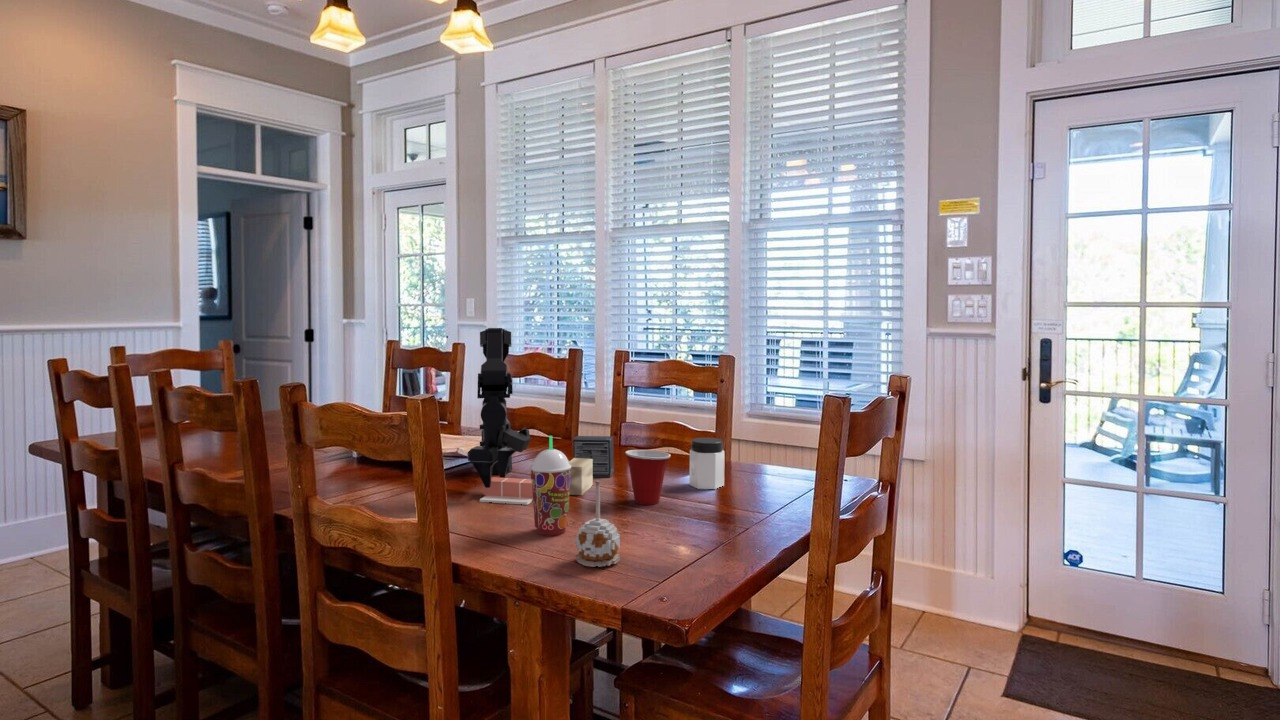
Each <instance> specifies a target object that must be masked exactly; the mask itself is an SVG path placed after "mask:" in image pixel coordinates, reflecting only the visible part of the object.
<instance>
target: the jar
mask: <svg viewBox="0 0 1280 720" xmlns="http://www.w3.org/2000/svg"><path fill="white" fill-rule="evenodd" d="M690 447H691V448H690V449H689V480H688V481H689V482H688V483H689V486H691V487H693V488H695V489H696V488H697V489H696V490H708V489H715V490H718V489H720V488H719V487H721V488H723V487H725V452H726V451H725V450H724V441H723V440H722V439H721V438H716V437H696V438H693V439H691V443H690ZM722 486H723V487H722ZM717 488H718V489H717Z"/></svg>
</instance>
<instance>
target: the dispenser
mask: <svg viewBox="0 0 1280 720" xmlns="http://www.w3.org/2000/svg"><path fill="white" fill-rule="evenodd" d="M568 461H569V463H570V465H571V477H570V495H569V496H583V495H584V494H585V493H586V492H587V491H588V490H590V489H591V486H592V485H593V483H594V482H593V481H594V480H593V479H594V477H593V459H585V458H572V459H571V460H568ZM593 486H594V485H593ZM593 486H592V487H593Z"/></svg>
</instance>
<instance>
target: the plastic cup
mask: <svg viewBox="0 0 1280 720" xmlns="http://www.w3.org/2000/svg"><path fill="white" fill-rule="evenodd" d="M625 456H626V457H627V463H628V466H629V473H630V482H631V487H632V492H633V498H634V501H635V503H636V504H639V505H644V504H645V506H647V505H655V504H658V503H659V501H660V500H661V493H662V489H663V484H664V479H665V472H666V469H667V464H668V461H669V459H670V458H671V454H670V453H668V452H664V451H659V450H651V449H630V450H629V449H628V450H626V451H625Z"/></svg>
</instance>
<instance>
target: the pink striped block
mask: <svg viewBox="0 0 1280 720" xmlns="http://www.w3.org/2000/svg"><path fill="white" fill-rule="evenodd" d="M483 495H484V496H486V495H492V496H509V497H525V498H533V492H532V478H517V477H516V478H513V477H505V478H500V476H499V477H497V476H492V477H491V485H490V488H486V487H485V486H484V485H483Z"/></svg>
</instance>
